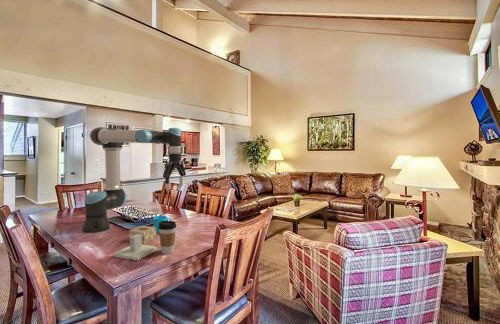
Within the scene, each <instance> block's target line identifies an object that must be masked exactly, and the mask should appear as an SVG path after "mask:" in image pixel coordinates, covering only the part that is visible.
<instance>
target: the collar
mask: <svg viewBox="0 0 500 324" xmlns="http://www.w3.org/2000/svg"><path fill="white" fill-rule="evenodd" d="M137 234H140V235H142V244H146V243H147V242H150V241H152V240H154V239H156V237H157V232H156V227H154V226H148V225H140V226H137V227H134V228H132V229H130V230H128V242H130V237H132V236H134V235H137Z"/></svg>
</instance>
